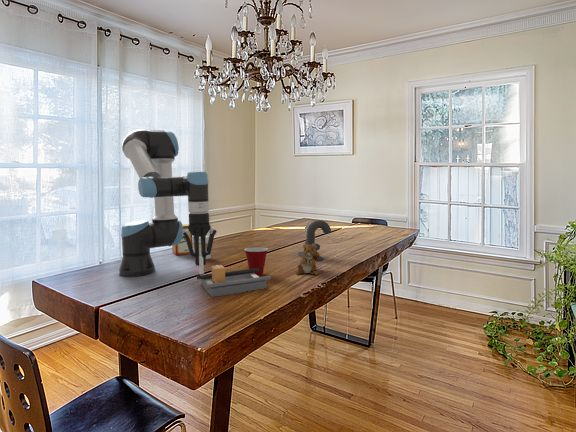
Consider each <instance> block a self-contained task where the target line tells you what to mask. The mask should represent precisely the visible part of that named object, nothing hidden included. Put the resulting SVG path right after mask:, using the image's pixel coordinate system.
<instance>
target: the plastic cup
mask: <svg viewBox="0 0 576 432" xmlns="http://www.w3.org/2000/svg"><path fill="white" fill-rule="evenodd" d="M243 251H244V252H245V256H246V260H247V261H246V262H247V266H248V267H247V268H248V269H254V268H259V272H253V273H255V274H256V275H258V276H259V275H260V276H263V274H264V269H265V264H266V259H267V253H268V251H269V248H267V247H246V248H244V250H243ZM260 276H259V277H260Z"/></svg>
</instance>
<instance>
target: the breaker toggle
mask: <svg viewBox="0 0 576 432" xmlns="http://www.w3.org/2000/svg"><path fill="white" fill-rule="evenodd" d="M225 272H226V267H225V266H223V265H222V264H216V265H211V274H212V280H213V281H214V282H215V283H220V282H225Z"/></svg>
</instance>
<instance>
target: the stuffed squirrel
mask: <svg viewBox="0 0 576 432" xmlns="http://www.w3.org/2000/svg"><path fill="white" fill-rule="evenodd" d="M316 247H317V246H313V245H305V243H303V244H302V248H303V251H302V252H303V254H304V255H303V256H302V257H301V258H300V260H299V261H300V262H299V264H298V265H297V269H296V270H295V275H301V274H306V273H310V274H311V275H313V274H315V275H314V276H318V275H319V271H318V269H317V265H316V262H317V261H316V260H317V259H318V258H319V256H321V254H320V252H318V251H319V250H317V251H316V250H314V249H315V248H316ZM315 261H316V262H315Z"/></svg>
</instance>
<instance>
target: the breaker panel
mask: <svg viewBox="0 0 576 432" xmlns="http://www.w3.org/2000/svg"><path fill="white" fill-rule="evenodd" d="M257 277H260V276H258V275H256V274H255V273H245V274H237V275H229V276H225V282H228V281H235V280H242V279H249V278H257ZM200 280H201V281H200V282H201V287H203V289H204V290H205V291H206V292H207V294H208V295H210V297H211V298H215V297H220V296H227V295H233V294H234V293H235V294H240V293H246V291H248V292H252V291H251V290H255V291H259V290H258V289H261V290H264V289H263V288H266V289H267V280H265V281H258V282H251V283H244V284H237V285H229V286H222V287H215V288H208V289H205V285H206V284H213V283H215V282H214V281H213V280H212V278H206V279H200Z"/></svg>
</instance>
